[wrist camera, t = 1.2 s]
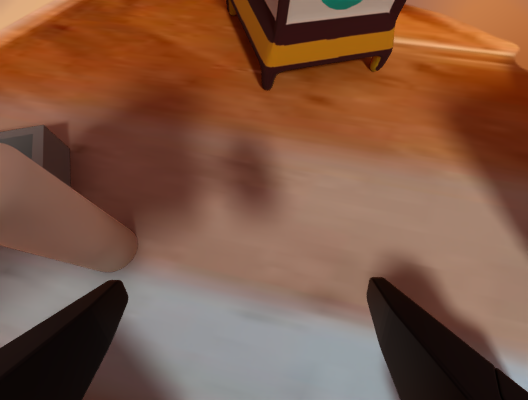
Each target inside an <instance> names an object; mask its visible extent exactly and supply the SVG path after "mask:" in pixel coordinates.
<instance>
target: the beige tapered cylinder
mask: <svg viewBox="0 0 528 400" xmlns="http://www.w3.org/2000/svg"><path fill="white" fill-rule="evenodd" d="M0 246H4V247H8V248H12V249H15V250H19V251H23V252H27V253H31V254H35V255H39V256H43V257H46V258H50V259H54V260H58V261H62V262H66V263H70V264H74V265H77V266H81V267H85V268H89V269H93V270H97V271H101V272H114V271H117V270H120V269H122V268H123V267H125V266H126V265H128V264H129V263H130V262H131V260H132V259H133V258H134V256H135V254H136V252H137V248H138V241H137V237H136V235H135V234H134V232H133V231H131V230H130V229H129V228H127V227H126V226H124V225H123V224H122V223H120V222H119V221H117V220H116V219H115V218H113V217H112V216H110V215H109V214H107V213H106V212H105V211H103V210H102V209H100V208H99V207H98V206H96V205H95V204H93V203H92V202H91V201H89V200H88V199H86V198H85V197H83V196H82V195H81V194H79V193H78V192H76V191H75V190H74V189H72V188H71V187H69V186H68V185H66V184H65V183H64V182H62V181H61V180H59V179H58V178H57V177H55V176H54V175H52V174H51V173H49V172H48V171H47V170H45V169H44V168H42V167H41V166H40V165H38V164H37V163H35V162H34V161H32V160H31V159H30V158H28V157H27V156H25V155H24V154H23V153H21V152H20V151H18V150H17V149H15V148H14V147H12V146H10V145H7V144H3V143H0Z"/></svg>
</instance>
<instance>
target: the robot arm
mask: <svg viewBox="0 0 528 400" xmlns="http://www.w3.org/2000/svg"><path fill="white" fill-rule="evenodd" d="M367 302H368V305H369V309H370V313H371V316H372V320H373V324H374V327H375V331H376V334H377V338H378V341H379V345H380V348H381V351H382V353H383V356H384V358H385V361H386V364H387V366H388V369H389V371H390V374H391V376H392V379H393V382H394V384H395V387H396V389H397V392H398V394H399V397H400V399H401V400H528V392H527V391H526V390H524V389H523V388H522V387H521V386H519V385H518V384H517V383H515V382H514V381H513V380H512V379H510V378H509V377H508V376H507V375H505V374H504V373H503V372H502V371H500V370H499V369H498V368H495V367H494V365H493V364H491V363H490V362H489V361H488V360H486V359H485V358H484V357H483V356H481V355H480V354H479V353H478V352H476V351H475V350H474V349H473V348H471V347H470V346H469V345H468V344H466V343H465V342H464V341H462V340H461V339H460V338H459V337H457V336H456V335H455V334H454V333H452V332H451V331H450V330H449V329H447V328H446V327H445V326H444V325H442V324H441V323H440V322H439V321H437V320H436V319H435V318H434V317H432V316H431V315H430V314H429V313H427V312H426V311H425V310H424V309H422V308H421V307H420V306H419V305H417V304H416V303H415V302H414V301H412V300H411V299H410V298H408V297H407V296H406V295H405V294H403V293H402V292H401V291H400V290H398V289H397V288H396V287H395V286H393V285H392V284H391V283H390V282H388V281H387V280H386V279H385V278H383V277H371V278H370V280H369V284H368V290H367ZM127 303H128V294H127V292H126V289H125V287H124V285H123V282H122V281H121V280H109V281H107V282H105V283H104V284H102V285H100V286H99V287H97V288H96V289H94V290H92V291H91V292H89V293H88V294H86V295H84V296H83V297H81V298H80V299H78V300H76V301H75V302H73V303H72V304H70V305H68V306H67V307H65V308H64V309H62V310H61V311H59V312H57V313H56V314H54V315H53V316H51V317H49V318H48V319H46V320H45V321H43V322H41V323H40V324H38V325H37V326H35V327H33V328H32V329H30V330H29V331H27V332H25V333H24V334H22V335H21V336H19V337H17V338H16V339H14V340H13V341H11V342H9V343H8V344H6V345H5V346H3V347H1V348H0V400H82V399H83V397H84V395H85V393H86V391H87V389H88V387H89V385H90V383H91V381H92V379H93V377H94V375H95V374H96V372H97V370H98V368H99V366H100V364H101V362H102V360H103V358H104V356H105V354H106V352H107V350H108V348H109V346H110V344H111V342H112V339H113V337H114V335H115V332H116V330H117V327H118V325H119V322H120V320H121V317H122V315H123V313H124V310H125V308H126V305H127Z"/></svg>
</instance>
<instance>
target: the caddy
mask: <svg viewBox="0 0 528 400" xmlns="http://www.w3.org/2000/svg"><path fill="white" fill-rule="evenodd" d="M0 143H3V144H7V145H10V146H12V147H14V148H15V149H17V150H18V151H20V152H21V153H23V154H24V155H25V156H27V157H28V158H30V159H31V160H32V161H34V162H35V163H37V164H38V165H40V166H41V167H42V168H44V169H45V170H47V171H48V172H49V173H51V174H52V175H54V176H55V177H57V178H58V179H59V180H61V181H62V182H64V183H65V184H66V185H68V186H69V187H71V182H70V149H69V148H68V147H67V146H66V145H65V144H64V143H63V142H62V141H61V140H60V139H58V138H57V137H56V136H55V135H54V134H53V133H52V132H51V131H50V130H49V129H48V128H47V127H46V126H44V125H40V126H34V127H28V128H22V129H16V130H10V131H4V132H0Z"/></svg>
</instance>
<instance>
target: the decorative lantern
mask: <svg viewBox="0 0 528 400" xmlns="http://www.w3.org/2000/svg"><path fill="white" fill-rule="evenodd" d="M405 2H406V0H226V4H227V9H228V12H229V14H230V15H233V16H235V15H236V14H237V15H238V18H239V20H240V22H241V24H242V26H243V28H244V30H245V32H246V34H247V36H248V39H249V41H250V43H251V45H252V47H253V49H254V51H255V53H256V55H257V57H258V60H259V62H260V66H261V70H262V86H263V88H264V89H265V90H270V89H271V88H272V86H273V83H274V80H275V77H276V76H277V75H278V74H279V73H280V72H283V71H286V70H292V69H298V68H304V67H311V66H317V65H323V64H329V63H335V62H341V61H348V60H354V59H360V58H366V57H372V56H373V57H372V59H371V62H370V69H371V70H372V71H378V70H379V69H380V68H381V67H382V66H383V65H384V64H385V62H386V61H387V59H388V57H389V56H390V54H391V52H392V48H393V41H394V29H395V23H396V20H397V17H398V15H399V13H400V11H401V9H402V8H403V6H404V4H405Z"/></svg>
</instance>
